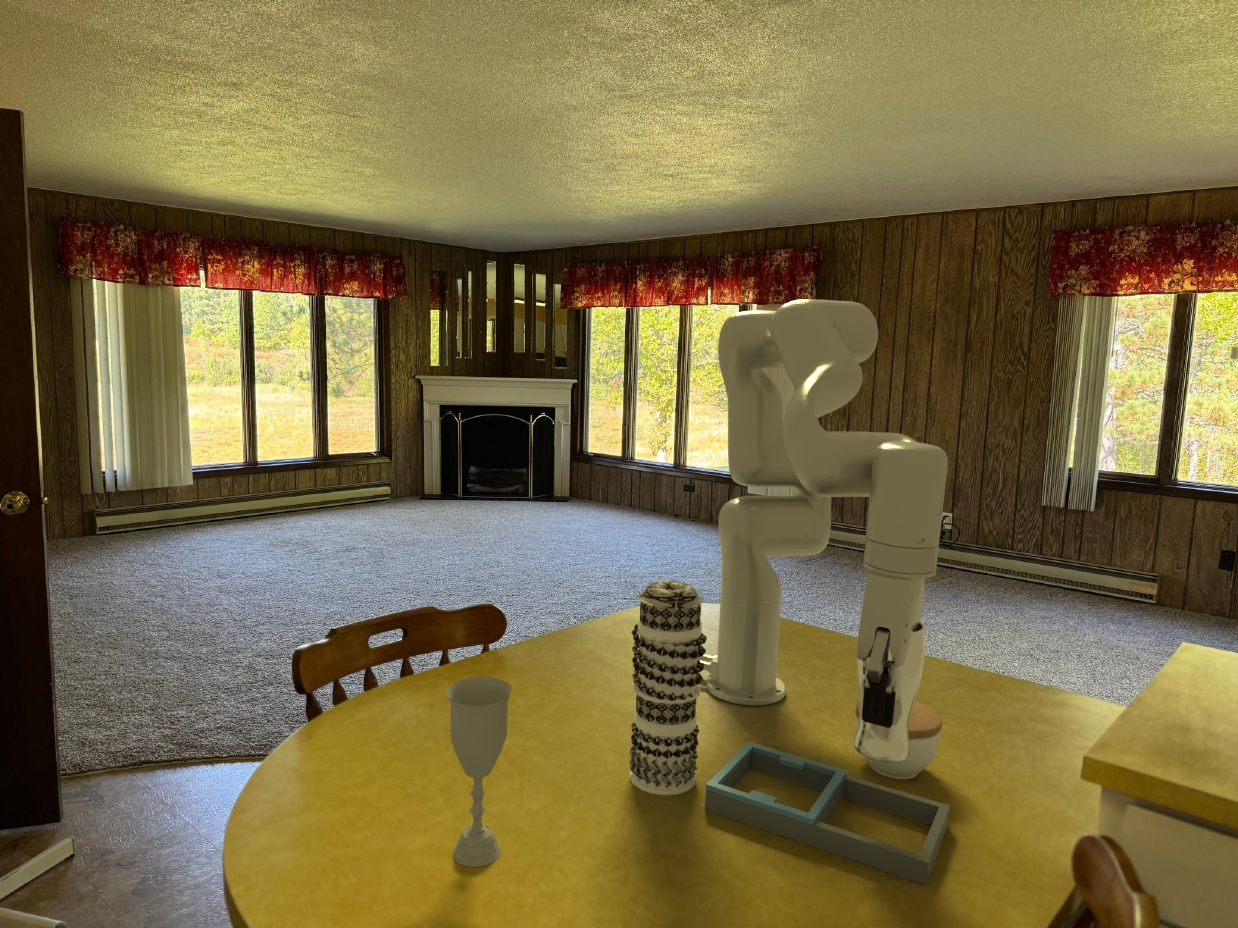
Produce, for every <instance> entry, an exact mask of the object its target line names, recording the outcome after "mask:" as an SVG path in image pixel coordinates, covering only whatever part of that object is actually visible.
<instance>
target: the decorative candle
mask: <svg viewBox="0 0 1238 928" xmlns="http://www.w3.org/2000/svg"><path fill="white" fill-rule="evenodd" d="M637 599H638V600H639V601H640V607H639V618H638V620H637V624H635V625H634V627H633V629H632V631H631V635H632V639H633V641H634V642H633V644H634V645H633V646H632V647H631V651H632V652H633V657H632V658H631V661H632V668H634V670H633V673H632V679H633V685H632V689H633V691H634V693H635V695H636V698H635V699H636V700H635V709H634V714H633V722H631V732H632V734H631V735H630V739H631V744H632V745H631V747H629V754H630V759H629V768H630V772H629V779H630V781H631V783H632V785H633V786H635V787H636V788H637V789H639V790H640V791H643V792H646V793H649V794H651V795H660V796H673V795H675V796H676V795H681V794H684V793H686V792H689V791H691V789H692V788H693V787H694V786H696V779H697V774H696V771H698V767H697V760H698V758H699V755H698V750H697V748H698V747H697V746H698V745H699V741H698V734H699V733H700V729H699V725H698V724H697V719H698V712H697V698H698V697H700V696H701V695H700V694H701V686H700V685H701V683H702V682H703V681H704V676H702V674H701V673H700V672H702V671H704V670H703V668H704V664H703V663H701V661H700V660H698V658H699V657H701V656H703V655H704V654H706V653H707V650H706V648H705V647H704V646H703V645H704V644H705V643H706V642H707V639H708V637H707V635H705V634H704V633H703V632H702V629H703V628H702V627H703V626H702V625H703V624H702V623H703V622H702V621H701V616H702V604H703V603H704V597H703V596H701V595H700V594H698V591H697V590H696V589H695V588H694V586H692V585H691V584H688V583H686V582H682V581H677V580H658V581H654V582H652V583H649V585H647V587H646V588H645V590H644V591H643V592H640V593H639V594H638V596H637Z"/></svg>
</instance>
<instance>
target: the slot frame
mask: <svg viewBox="0 0 1238 928" xmlns="http://www.w3.org/2000/svg"><path fill="white" fill-rule="evenodd" d="M751 770H752V771H755V772H757V773H761V774H765V775H769V776H770V777H774V778H777V779H780V780H784V781H787V782H790V783H793V784H797V785H799V786H802V787H803V786H804V787H807V788H810V789H813V790H816V791H819V792H821V794H820V795H819V796H818V798H817V799H816V801H815V802H814V803H813V805H812V806H811V807H810V809H809V810H808V812H807V811H804V810H801V809H797V808H795V807H791V806H788V805H785V804H782V803H780V802H778V798H777V797H776V796H773V795H769V794H767V793H763V792H761V791H758V790H754V789H751V790H750V792H746V791H742V790H739V789H736V787H737V786H738V785H739V784H740V783H741V781H742V780H743V779H744V778H745V777H746V775H748V773H749V772H750V771H751ZM843 799H846V800H849V801H851V802H856V803H858V804H861V805H865V806H868V807H871V808H875V809H878V810H881V811H885V812H886V813H889V814H894V815H897V816H900V817H904V818H905V819H910V820H913V821H917V822H920V823H922V824H926V825H929V826H930V828H929V831H928V834H927V836H926V839H925V842H924V843H923V846H922V849H921V851H920V853H915V852H913V851H909V850H907V849H904V848H900V847H897V846H894V845H891V844H888V843H885V842H882V841H879V840H876V839H873V838H869V837H867V836H864V835H861V834H858V833H856V832H852V831H848V830H846V829H842V828H840V827H836V826H833V825H830V824H828V821H829V820H830V818H831V817H832V816H833V815H834V812H835V811H836V810H837V808H838V806H839V804H840V803H841V801H842V800H843ZM704 800H705V801H704V810H706V811H709V812H712V813H716V814H718V815H722V816H724V817H726V818H729V819H733V820H736V821H738V822H740V823H741V822H742V823H744V824H748V825H749V826H750V825H751V826H753V827H755V828H756V827H757V828H759V829H761V830H764V831H767V832H771V833H773V834H777V835H779V836H782V837H784V838H788V839H790V840H794V841H797V842H799V843H803V844H806V845H807V846H811V847H813V848H816V849H820V850H822V851H825V852H828V853H832V854H834V855H837V856H840V857H843V858H845V859H848V860H851V861H855V862H856V863H860V864H863V865H865V866H869V867H871V868H873V869H877V870H880V871H884V872H886V873H888V874H892V875H895V876H897V877H900V878H902V879H903V878H904V879H906V880H909V881H912V882H914V883H918V884H920V885H924V886H926V885H927V883H928V881H929V878H930V876H931V874H932V870H933V867H934V864H935V862H936V859H937V856H938V854H939V851H940V848H941V846H942V843H943V841H944V837H945V835H946V832H947V830H948V826H949V821H950V820H949V819H950V807H951V806H950V805H949V804H946V803H942V802H939V801H937V800H931V799H929V798H925V797H922V796H918V795H914V794H911V793H908V792H905V791H902V790H898V789H895V788H891V787H888V786H884V785H881V784H877V783H874V782H871V781H867V780H864V779H860V778H858V777H855V776H850V775H848V770H846V769H842V768H839V767H835V766H834V765H833V766H832V765H829V764H825V763H822V762H818V761H814V760H811V759H809V758H805V757H801V756H797V755H794V754H791V753H787V752H785V751H781V750H776V749H775V748H770V747H768V746H767V747H766V746H764V745H762V744H761V745H760V744H757V743H754V742H749V741H747V742H746V743H745V744H744V746H743V747H742V748H741V749H740V750H738V751H737V753H735V754H734V755H733V756H732V758H730V760H729V761H728V762H727V763H726V764H725V765H724V766H723V767H722V768H721V769H720V770H718V771H717V773H716V774H715V775H713V777H712V778H711V779H710V780H709V781H708V782H707V783H706V784H705V799H704Z"/></svg>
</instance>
